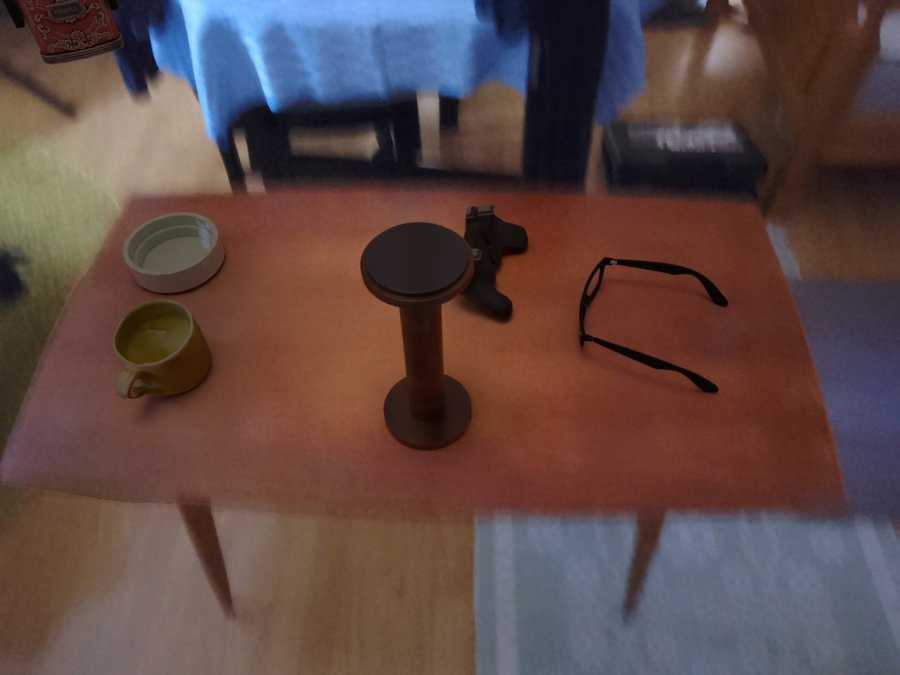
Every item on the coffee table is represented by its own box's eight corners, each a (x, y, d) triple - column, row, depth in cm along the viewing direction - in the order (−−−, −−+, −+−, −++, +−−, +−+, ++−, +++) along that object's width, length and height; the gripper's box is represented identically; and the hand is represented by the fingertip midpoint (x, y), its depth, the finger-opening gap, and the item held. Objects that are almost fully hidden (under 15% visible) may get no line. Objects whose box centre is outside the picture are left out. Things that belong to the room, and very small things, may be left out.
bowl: (140, 307, 89) (128, 285, 86) (128, 248, 97) (117, 226, 94) (234, 279, 93) (226, 257, 89) (216, 224, 100) (208, 202, 97)
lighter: (45, 68, 69) (-7, -38, 61) (41, 53, 71) (-10, -51, 63) (127, 48, 71) (87, -56, 63) (120, 35, 73) (81, -68, 65)
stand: (402, 463, 74) (382, 311, 55) (372, 394, 80) (344, 236, 61) (486, 431, 76) (493, 275, 58) (450, 366, 82) (446, 206, 64)
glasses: (591, 275, 93) (595, 247, 89) (727, 300, 89) (737, 272, 85) (564, 366, 83) (567, 340, 79) (716, 400, 79) (727, 373, 75)
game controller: (490, 248, 99) (458, 195, 93) (533, 237, 96) (503, 182, 90) (467, 331, 89) (430, 278, 83) (514, 322, 86) (478, 266, 80)
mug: (164, 311, 86) (145, 276, 77) (232, 352, 86) (221, 323, 77) (97, 389, 81) (68, 362, 72) (169, 434, 81) (149, 412, 72)
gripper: (77, -315, 55) (169, -21, 73) (-223, -294, 50) (-47, 18, 67) (84, -302, 51) (180, 8, 68) (-244, -277, 46) (-49, 51, 63)
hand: (67, 12), depth 68 cm, fingers closed on lighter, 8 cm apart
